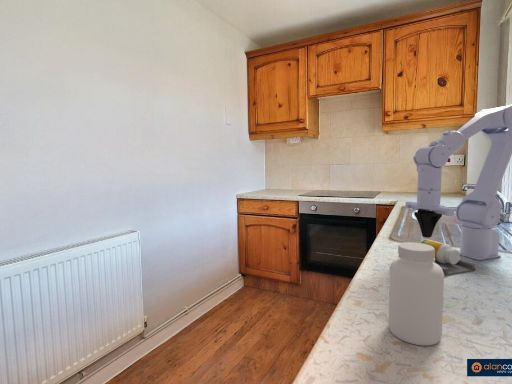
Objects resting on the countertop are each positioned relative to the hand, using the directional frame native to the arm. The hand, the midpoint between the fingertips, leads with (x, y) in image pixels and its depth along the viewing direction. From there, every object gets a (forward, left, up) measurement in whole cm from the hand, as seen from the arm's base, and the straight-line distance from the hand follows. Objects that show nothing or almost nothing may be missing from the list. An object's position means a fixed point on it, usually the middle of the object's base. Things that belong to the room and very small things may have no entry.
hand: (426, 236), depth 85 cm
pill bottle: (+32, +27, -7) cm, 43 cm away
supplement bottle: (-1, -2, -4) cm, 5 cm away
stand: (0, +5, -7) cm, 9 cm away
